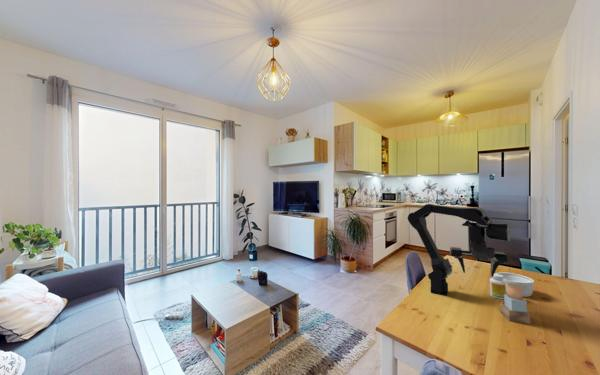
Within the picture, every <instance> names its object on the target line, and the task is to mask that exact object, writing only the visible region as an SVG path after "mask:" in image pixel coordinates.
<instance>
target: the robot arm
mask: <svg viewBox="0 0 600 375" xmlns="http://www.w3.org/2000/svg"><path fill="white" fill-rule="evenodd" d="M432 213H433V214H438V215H439V214H440V215H446V216H453V217H458V218H461V219H463V220H466V221H465V222H463V223H462V224H461V226H462V227H463V226H464V227H467V234H468V236H467V237H468V238H467V239H468V240H467V242H468V243H467V245H468V250H464V249H462V248H461V247H454V246H453V247H452V246H451V247H450V248H449V254H450V256H451V257H454V258H455V259H457V260H458V262H459V265H460V267H461V270H462V272H463V273H464V274H465V273H466V268H465V262H464V257H463V256H472V258H473V259H474V260H483V261H489V258H491V259H490V277H491V278H492V277H493V275H494V274H496V272H497V268H498V267H499V266H500V265H501V264H505V263H509V260H510V259H509V255H507V254H506V253H505V252H503V251H497V250H495V248H494V247H490V246H487V242H486V237H487V238H489V240H495V241H502V242H508V243H509V242H510V240H511V237H512V236H511V235H512V234H511V230H510V226H509V223H505V222H504V223H498V222H493V221H492V219H491V218H489V216H488V215H487V212H486V210H485V209H483V208H482V207H455V206H447V205H438V204H433V203H426V204H425V205H423V206H421V208H419V209H416V211H414V212H410V213H408V215H407V221H408V222H409V224H410V226H411V227H412V228H413V229H415V231H416V232H417V234H418V235H419V237H420V240H421V241H422V244H423V245H424V248H425V250H426V252H427V254H428V256H429V258H430V264H431V269H432V271H431V272H430V273H428V274H427V276H428V279H429V280H430V293H431V294H432V293H433V294H436V295H441V296H448V293H449V283H448V282H447V278H448V277H449V276H451V274H452V272H453V265H452V264H451V263H450V261H449V260H450V259H449V258H444V257H443V256H442V254H441V253H440V250H439V248H438V247H437V245H436V243H435V241H434V239H433V238H432V235H431V233H430V231H429V230H428V227H427V224H428V223H427V220H426V219H427V217H429V216H430V215H431V214H432Z"/></svg>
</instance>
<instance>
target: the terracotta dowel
mask: <svg viewBox="0 0 600 375" xmlns="http://www.w3.org/2000/svg"><path fill="white" fill-rule="evenodd" d="M506 295H507V296H508V297H510V298H512V299H517V300H522V298H523V297H522V288H521V287H520V286H517V285H512V284H508V285H507V293H506Z"/></svg>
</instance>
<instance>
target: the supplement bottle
mask: <svg viewBox="0 0 600 375" xmlns="http://www.w3.org/2000/svg"><path fill="white" fill-rule="evenodd" d="M504 294H506V295H507V293H506V284H505V281H503V276H502V275H500V274H496V273H494V275H493V277H491V278H489V296H490V297H493V298H495V299H498V300H504Z"/></svg>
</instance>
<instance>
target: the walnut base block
mask: <svg viewBox="0 0 600 375" xmlns="http://www.w3.org/2000/svg"><path fill="white" fill-rule="evenodd" d="M500 314H501V315H502V316H503V317H504V318H505V319H506V320H507V321H508V322H513V323H519V324H525V325H526V324H527V325H531V313H530V312H529V311H528V310H527V313H526V312H518V311H511V310H510V309H509V308H508V307H507V306H505V305H504V303H502V302H500Z"/></svg>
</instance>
